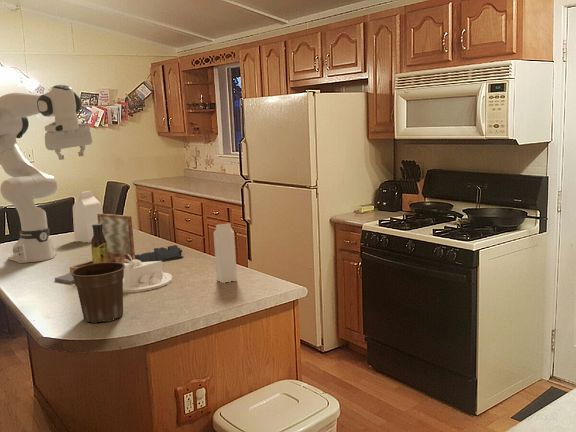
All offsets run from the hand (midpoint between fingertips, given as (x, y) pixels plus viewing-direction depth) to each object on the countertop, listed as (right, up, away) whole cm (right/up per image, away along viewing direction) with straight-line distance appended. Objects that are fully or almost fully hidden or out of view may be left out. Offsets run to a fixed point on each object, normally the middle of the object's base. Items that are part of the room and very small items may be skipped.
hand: (71, 157), depth 239 cm
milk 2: (+68, -50, -24) cm, 88 cm away
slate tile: (+6, -50, -13) cm, 52 cm away
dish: (+35, -51, -21) cm, 65 cm away
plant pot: (+33, -57, -58) cm, 88 cm away
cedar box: (+14, -47, 0) cm, 49 cm away
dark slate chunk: (+33, -45, +15) cm, 58 cm away
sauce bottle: (+13, -48, -1) cm, 50 cm away
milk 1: (-14, -38, +63) cm, 75 cm away
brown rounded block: (+21, -47, 0) cm, 52 cm away
